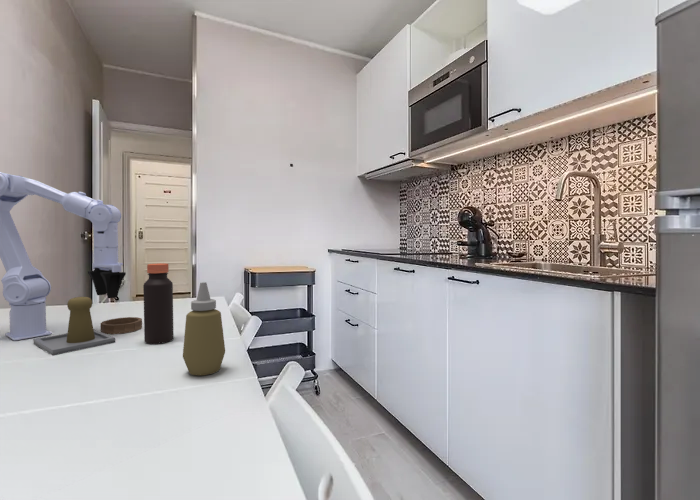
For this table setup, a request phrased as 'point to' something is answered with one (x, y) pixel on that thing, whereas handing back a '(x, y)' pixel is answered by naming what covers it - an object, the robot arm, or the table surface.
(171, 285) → the vinegar
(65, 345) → the tray
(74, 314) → the pepper mill
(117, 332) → the ring
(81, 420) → the table surface
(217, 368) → the squeeze bottle
